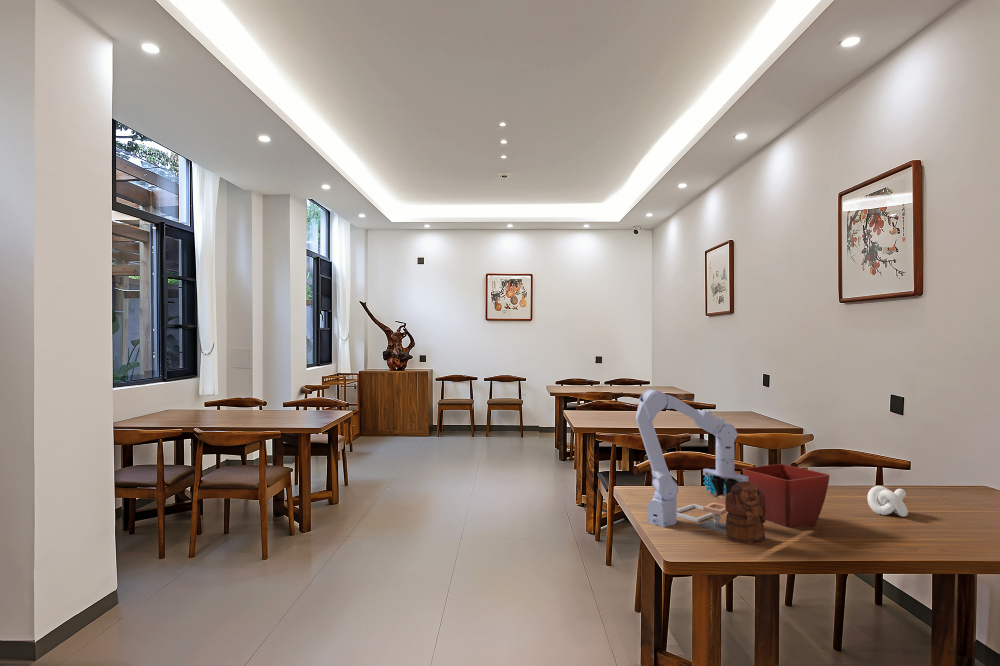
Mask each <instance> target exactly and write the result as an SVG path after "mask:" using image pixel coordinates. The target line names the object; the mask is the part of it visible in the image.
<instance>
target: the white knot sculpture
mask: <svg viewBox="0 0 1000 666" xmlns="http://www.w3.org/2000/svg"><path fill="white" fill-rule="evenodd" d="M906 495H907V493H906V491H905V490H904V489H903V488H897V489H895V491H894V492H893V491H892V490H890V489H889V488H887V487H885V486H883V485H874V486H873V487H871V489H869V490H868V493H867V495H866V497H867V503H868V506H869V507H870V509H871V510H872V511H873V512H874V513H876V514H878V515H880V514H881V515H880V516H887V515H889V514H891V513H893V512H894V513H895V515H897V516H899V517H902V518H904V517H907V516H908V515H909V510H908V507H907V505H906V504H905V503H904V501H903V500H904V499H905V497H906Z"/></svg>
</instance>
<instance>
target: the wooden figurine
mask: <svg viewBox="0 0 1000 666" xmlns="http://www.w3.org/2000/svg"><path fill="white" fill-rule="evenodd" d="M726 494H727V493H726ZM725 508H726V510H727V512H726V517H725V518H726V519H725V524H726V531H725V532H726V539H727V541H729V542H732V543H736V544H744V545H745V544H746V545H751V544H752V545H753V544H754V543H759V542H760V543H761V542H765V541H766V534H765V527H764V524H765V522H766V521H767V520H766V509H765V497H764V494H763V493H762V492H761V491H759V489H758V488H757V486H756V485H754V484H753V483H750V482H746V481H742V482H738V483H736V484H735V485H734V486H733V487H732V488H731V492H730V493H728V494H727V496H726V505H725Z"/></svg>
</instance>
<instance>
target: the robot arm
mask: <svg viewBox="0 0 1000 666" xmlns="http://www.w3.org/2000/svg"><path fill="white" fill-rule="evenodd" d="M664 409H667V410H670V409H672V410H675V411H677V412H679V413H681V414H684V415H685V416H687V417H688V418H689V419H690V418H691V419H692V420H693V422H694V425H695V426H696V427H698V428H701V429H703V430H704V431H705V432H708V433H709V434H712V435H713V436H714V437H715V469H714V468H712V469H711V468H703V469H702V476H706V475H709V476H710V477H711V478H712V479H711V482H712V483H713V485H714V487H715V490H716V492H715V493H716V494H717V495H716V497H717V498H718V496H720V495H722V494H724V492H725V491H724V484H725V485H726V492H727V493H726V492H725V493H726V494H728V493H730V492H731V488H732V487H733V486H734V485H735V484H736V483H738V482H742V481H746V482H748V476H744V475H743V474H740V473H737V472H735V440H736V439H737V436H738V431H737V429H736V428H735V427H736V426H734V425H733V424H731V423H728V422H727V421H725V419H724V418H723V417H720V418H719V417H718V416H717V415H714V414H712V411H710V410H709V409H706V410H705V409H701V410H697V409H695V408H694V407H692V406H690V405H689V404H687V403H685V402H683V401H682V400H680V399H678V398H677V397H675V396H673V395H670V394H666V393H664V392H662V391H661V390H656V389H654V388H648V389H646V390H644V391H643V392H642V394H641V395H640V397H639V398H638V406H637V410H636V413H635V421H636V424H637V427H638V430H639V434H640V436H641V439H642V443H643V446H644V448H645V449H644V450H645V452H646V455H647V458H648V459H647V460H648V461H649V465H650V468H651V475H652V483H651V484H652V487H653V489H654V490H655V491H654V493H653V498H652V499H651V500H650V501H649V502H648V504H647V523H648V524H651V525H655V526H659V527H662V528H665V527H668V526H673V525H676V524H677V520H678V516H677V509H678V507H677V506H678V504H677V495H678V494H679V485H678V484H677V483H676V481H675V480H674V479H673V477H672V474H671V472H670V471H669V468H668V466H667V463H666V460H665V457H664V454H663V451H662V447H661V444H660V441H659V438H658V435H657V432H656V429H655V425H654V422H653V421H654V419H655V417H656V416H657V415H658V414H659V413H660V412H661V411H662V410H664ZM712 476H713V477H712ZM725 480H726V481H725ZM724 482H725V483H724Z"/></svg>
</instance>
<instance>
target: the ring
mask: <svg viewBox="0 0 1000 666" xmlns="http://www.w3.org/2000/svg"><path fill="white" fill-rule="evenodd" d="M726 496H727V493H726V494H722V495H720V496H718V497H717V502H711V503H708V504H707V505H704V507H703V510H702V511H705V512H706V513H707V512H708V513H715V514H718V515H719V516H723V515H725V514H727V513H728V512H727V510H726V508H725V505H726Z"/></svg>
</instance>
